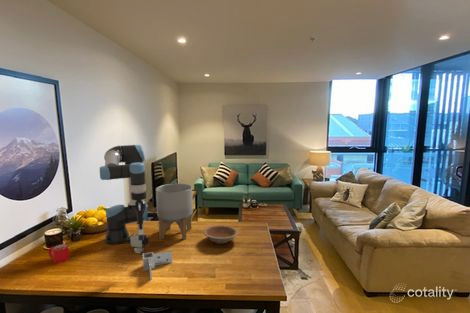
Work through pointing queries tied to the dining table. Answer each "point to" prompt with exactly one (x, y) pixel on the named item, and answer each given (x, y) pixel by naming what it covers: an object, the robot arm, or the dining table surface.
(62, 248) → the mug
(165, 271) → the dining table surface
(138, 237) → the pin
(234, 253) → the dining table surface
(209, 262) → the dining table surface
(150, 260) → the hinge leaves
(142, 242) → the pneumatic valve
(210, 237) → the bowl
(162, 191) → the planter
